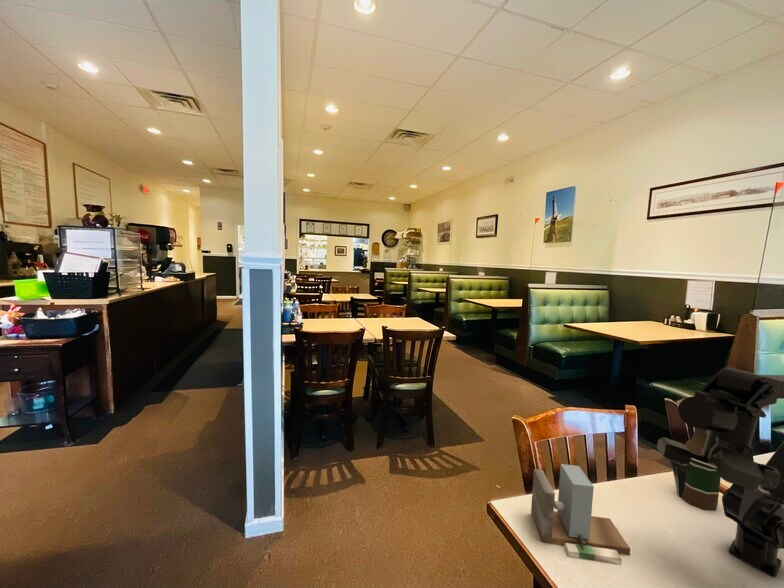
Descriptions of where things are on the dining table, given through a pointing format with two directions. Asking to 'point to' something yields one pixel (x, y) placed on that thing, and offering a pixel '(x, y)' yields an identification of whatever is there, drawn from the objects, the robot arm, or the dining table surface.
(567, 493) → the gauge carriage
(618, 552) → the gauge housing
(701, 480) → the beer bottle
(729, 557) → the dining table surface
